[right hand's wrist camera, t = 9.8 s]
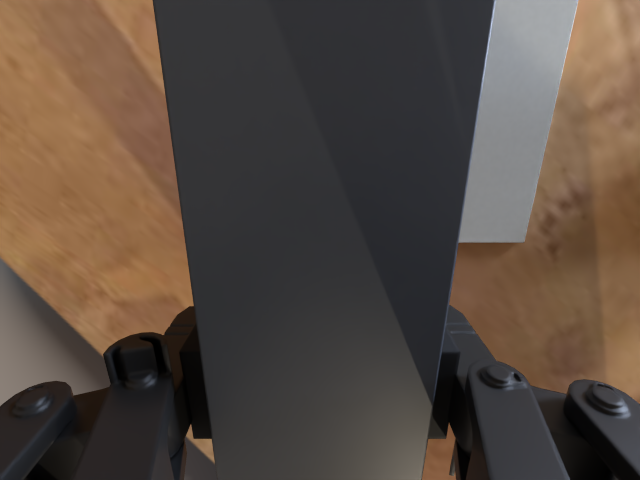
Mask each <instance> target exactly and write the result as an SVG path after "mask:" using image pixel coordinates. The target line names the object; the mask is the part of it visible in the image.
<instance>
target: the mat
mask: <svg viewBox="0 0 640 480" xmlns="http://www.w3.org/2000/svg"><path fill="white" fill-rule="evenodd" d="M577 4H578V0H496V4H495V11H494V17H493V24H492V30H491V37H490V43H489V49H488V56H487V62H486V69H485V75H484V82H483V88H482V95H481V101H480V107H479V114H478V120H477V127H476V133H475V140H474V146H473V152H472V159H471V165H470V172H469V178H468V185H467V191H466V198H465V204H464V210H463V217H462V223H461V230H460V236H459V243H524V241H525V236H526V232H527V227H528V223H529V218H530V214H531V209H532V205H533V200H534V196H535V191H536V187H537V182H538V178H539V173H540V169H541V165H542V160H543V156H544V151H545V147H546V142H547V138H548V133H549V129H550V124H551V120H552V115H553V111H554V106H555V102H556V98H557V93H558V89H559V84H560V80H561V75H562V71H563V66H564V62H565V57H566V53H567V48H568V44H569V39H570V35H571V31H572V26H573V22H574V17H575V13H576V8H577Z"/></svg>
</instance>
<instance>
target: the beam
mask: <svg viewBox="0 0 640 480" xmlns="http://www.w3.org/2000/svg"><path fill="white" fill-rule="evenodd" d="M495 4H496V0H153V6H154V13H155V21H156V28H157V35H158V43H159V50H160V58H161V65H162V73H163V80H164V87H165V95H166V102H167V110H168V117H169V125H170V132H171V139H172V147H173V154H174V162H175V169H176V177H177V184H178V191H179V199H180V206H181V214H182V221H183V229H184V236H185V243H186V251H187V258H188V266H189V273H190V281H191V288H192V295H193V303H194V310H195V318H196V325H197V333H198V340H199V347H200V355H201V362H202V370H203V377H204V385H205V392H206V399H207V407H208V414H209V422H210V429H211V437H212V444H213V451H214V459H215V466H216V473H217V480H422V474H423V468H424V462H425V455H426V449H427V442H428V436H429V429H430V423H431V416H432V410H433V404H434V397H435V391H436V384H437V378H438V371H439V365H440V359H441V352H442V346H443V339H444V333H445V326H446V320H447V313H448V307H449V301H450V294H451V288H452V281H453V275H454V268H455V262H456V255H457V249H458V243H459V236H460V230H461V223H462V217H463V210H464V204H465V198H466V191H467V185H468V178H469V172H470V165H471V159H472V152H473V146H474V140H475V133H476V127H477V120H478V114H479V107H480V101H481V95H482V88H483V82H484V75H485V69H486V62H487V56H488V49H489V43H490V37H491V30H492V24H493V17H494V11H495Z"/></svg>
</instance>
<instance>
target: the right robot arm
mask: <svg viewBox="0 0 640 480" xmlns="http://www.w3.org/2000/svg"><path fill="white" fill-rule="evenodd" d="M103 356H104V360H105V363H106V367H107V371H108V375H109V379H110V383H111V385H110V387H108V388H104V389H101V390H97V391H92V392H88V393H83V394H79V395H74V396H73V393H72V390H71V387H70V386H69V385H68V384H67V383H66V382H60V381H52V382H45V383H41V384H38V385H34V386H32V387H29V388H27V389H25V390H23V391H21V392H19V393H18V394H16V395H14V396H13V397H12V398H10V399H9V400H7V401H6V402H5V403H3V404H2V405H1V406H0V480H184V474H185V465H186V456H187V451H186V444H185V436H186V434H187V432H188V429H189V427H190V424H191V425H192V431H193V437H194V439H212V437H211V429H210V422H209V414H208V407H207V399H206V392H205V385H204V377H203V370H202V362H201V355H200V347H199V340H198V333H197V325H196V318H195V310H194V306H189V307H188V308H187V309H185V310H184V311H182V312H181V313H179V314H178V315H177V316H176V318H175V319H174V320H173V322H172V323H171V325H170V327H168V329H167V330H166V332H165V334H164V335H161V334H158V333H154V332H146V333H138V334H134V335H130V336H128V337H125V338H123V339H121V340H118V341H117V342H116V343H114V344H113V345H111V346H110V347H109V348H108V349H107V350H106V351H105V353H104V354H103ZM449 423H450V426H451V428H452V431H453V433H454V435H455V438H456V439H455V444H454V450H453V455H452V461H451V466H450V473H449V475H452V476H454V473H456V480H640V404H639V403H638V402H636V401H635V400H634V399H632V398H631V397H630V396H628V395H627V394H626V393H624V392H622V391H620V390H618V389H616V388H614V387H612V386H610V385H607V384H604V383H601V382H598V381H593V380H585V379H583V380H577V381H574V382H573V383H572V384H570V385H569V388H568V392H567V394H563V393H559V392H554V391H550V390H545V389H541V388H537V387H534V386H530V384H529V382H528V381H527V379H526V378H525V377H524V375H522V374H521V373H520V372H519V371H517V370H516V369H515V368H513V367H511V366H509V365H507V364H505V363H502V362H498V361H496V360H495V358H494V357H493V356H492V354H491V353H490V351H489V350H488V349H487V347H486V346H485V344H484V343H483V342H482V340H481V339H480V337H479V336H478V335H477V334H476V333H475V331H474V329H473V328H472V326H470V325H469V322H468V321H467V319H466V318H465V317H464V315H463V314H462V313H461V312H459V311H458V310H456V309H455V308H453V307H452V306H450V305H449V307H448V313H447V320H446V326H445V333H444V339H443V346H442V352H441V359H440V365H439V371H438V378H437V384H436V391H435V397H434V404H433V410H432V416H431V423H430V429H429V436H428V439H446V436H447V430H448V424H449Z"/></svg>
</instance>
